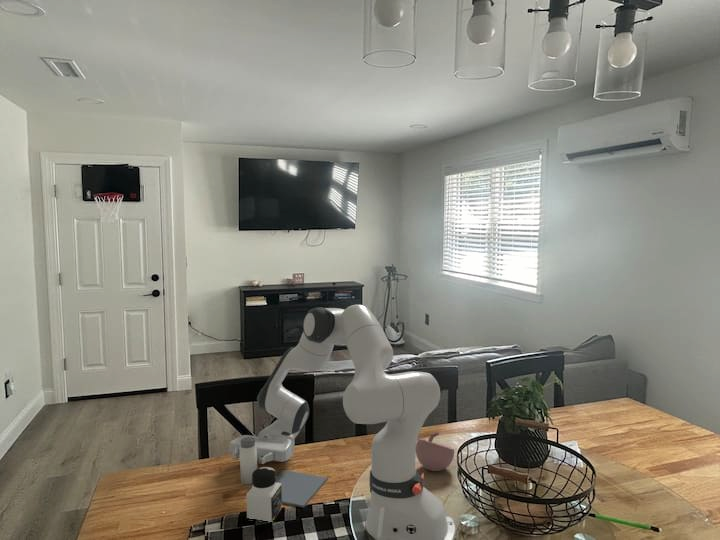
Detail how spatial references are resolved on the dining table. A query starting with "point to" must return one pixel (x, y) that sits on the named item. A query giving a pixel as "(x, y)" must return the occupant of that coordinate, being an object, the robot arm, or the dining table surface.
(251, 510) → the medicine bottle
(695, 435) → the dining table surface
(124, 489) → the dining table surface
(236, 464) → the dining table surface
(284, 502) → the slate mat
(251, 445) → the white pill bottle
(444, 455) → the mortar and pestle
